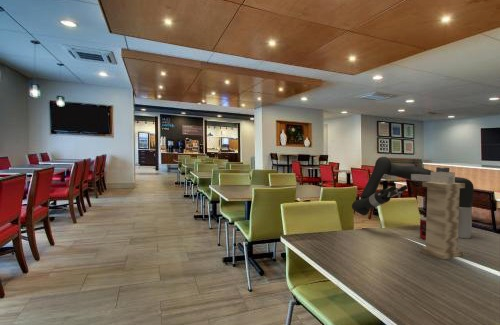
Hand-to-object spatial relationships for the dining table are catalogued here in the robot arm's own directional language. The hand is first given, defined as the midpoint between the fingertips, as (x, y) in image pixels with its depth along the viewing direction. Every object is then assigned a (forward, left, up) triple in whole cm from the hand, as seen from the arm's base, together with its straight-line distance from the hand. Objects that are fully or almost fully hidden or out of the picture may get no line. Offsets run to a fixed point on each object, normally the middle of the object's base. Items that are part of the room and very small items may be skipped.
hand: (401, 187), depth 145 cm
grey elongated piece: (0, +16, +4) cm, 16 cm away
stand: (0, +22, -29) cm, 36 cm away
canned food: (-17, +4, -29) cm, 34 cm away
